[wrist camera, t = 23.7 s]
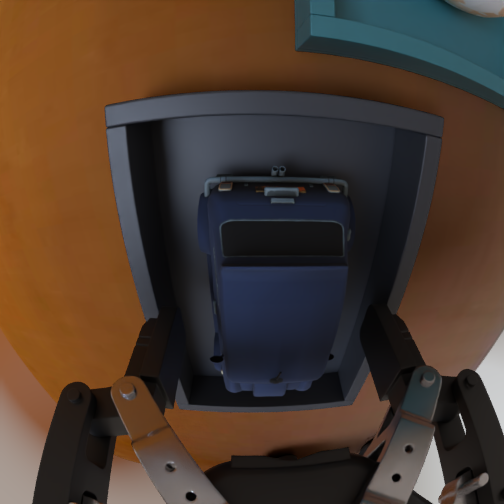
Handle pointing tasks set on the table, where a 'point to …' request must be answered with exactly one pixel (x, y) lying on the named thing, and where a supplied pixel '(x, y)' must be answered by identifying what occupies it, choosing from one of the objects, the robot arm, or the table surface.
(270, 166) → the charcoal tray
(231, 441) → the table surface
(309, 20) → the teal tray
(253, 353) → the toy car
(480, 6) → the helmet
